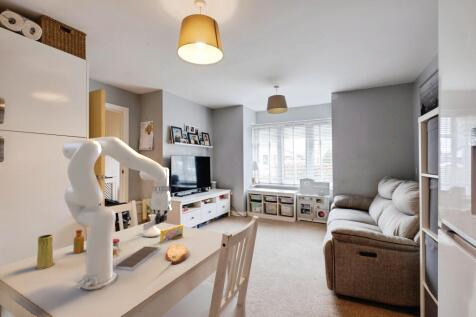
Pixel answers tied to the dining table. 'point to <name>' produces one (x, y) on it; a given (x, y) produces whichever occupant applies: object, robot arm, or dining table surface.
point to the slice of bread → (176, 253)
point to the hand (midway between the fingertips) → (160, 221)
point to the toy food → (80, 243)
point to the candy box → (171, 233)
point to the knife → (154, 222)
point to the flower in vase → (152, 230)
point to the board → (137, 257)
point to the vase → (45, 251)
